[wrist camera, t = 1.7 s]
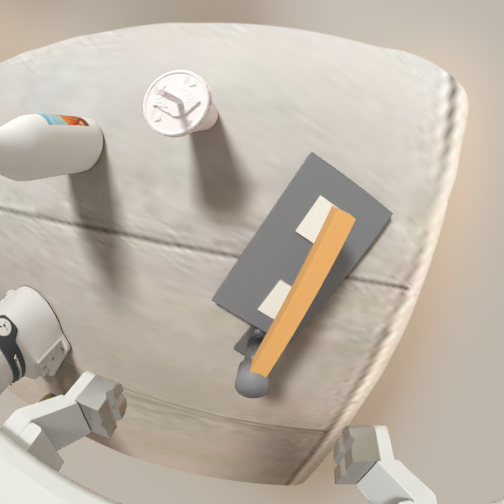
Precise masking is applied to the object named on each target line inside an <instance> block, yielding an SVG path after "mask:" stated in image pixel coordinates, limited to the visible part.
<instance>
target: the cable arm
mask: <svg viewBox="0 0 504 504" xmlns="http://www.w3.org/2000/svg"><path fill="white" fill-rule="evenodd" d="M355 220H356V219H355V218H354V217H353V216H352V215H350V214H349V213H347V212H345V211H343V210H341V209H339V208H337V207H335V206H332V207H331V209H330V211H329V213H328V215H327V217H326V220H325V222H324V224H323V226H322V228H321V230H320V232H319V234H318V236H317V238H316V240H315V242H314V244H313V246H312V248H311V250H310V252H309V254H308V256H307V258H306V260H305V262H304V264H303V266H302V268H301V270H300V272H299V274H298V276H297V278H296V279H295V281H294V283H293V285H292V287H291V289H290V291H289V293H288V295H287V297H286V299H285V300H284V302H283V304H282V306H281V308H280V310H279V312H278V313H277V315H276V317H275V319H274V321H273V323H272V325H271V326H270V328H269V330H268V332H267V334H266V335H265V337H264V339H263V341H262V343H261V344H260V346H259V348H258V350H257V351H256V353H255V355H254V357H253V358H249V359H246V360H244V361H242V362H241V363H240V365H239V368H238V373H237V377H236V382H235V389H236V390H237V392H238V393H239V394H241V395H242V396H244V397H248V398H259V397H262V396H264V395H265V394H266V393H267V392H268V390H269V379H270V371H271V369H272V368H273V366H274V365H275V363H276V361H277V360H278V358H279V357H280V355H281V353H282V352H283V350H284V349H285V347H286V345H287V344H288V342H289V340H290V339H291V337H292V336H293V334H294V332H295V331H296V329H297V327H298V325H299V324H300V322H301V320H302V319H303V317H304V315H305V314H306V312H307V310H308V308H309V307H310V305H311V303H312V301H313V300H314V298H315V296H316V294H317V293H318V291H319V289H320V287H321V285H322V284H323V282H324V280H325V278H326V276H327V274H328V273H329V271H330V269H331V267H332V265H333V263H334V261H335V259H336V258H337V256H338V254H339V252H340V250H341V248H342V246H343V244H344V242H345V240H346V238H347V236H348V234H349V232H350V230H351V228H352V226H353V224H354V222H355Z"/></svg>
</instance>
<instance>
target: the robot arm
mask: <svg viewBox="0 0 504 504" xmlns="http://www.w3.org/2000/svg"><path fill="white" fill-rule="evenodd" d="M69 350H70V344H69V343H68V341H67V339H66V338H65V336H64V335H63V333H62V331H61V328H60V325H59V322H58V320H57V318H56V316H55V314H54V312H53V311H52V309H51V307H50V306H49V305H48V303H47V302H46V301H45V300H44V298H43V297H42V296H41V295H40V294H38V293H37V292H36V291H35V290H33V289H31V288H29V287H20V288H18V289H17V290H11V289H10V290H9V291H7V293H6V298H5V299H3V300H2V301H1V302H0V394H1V393H2V392H3V391H4V389H6V387H7V386H8V385H9V384H10V385H12V384H11V383H15V382H16V381H18V380H20V379H21V378H22V377H23V376H25V377H29V378H31V379H37V378H38V377H39V376H40V375H42V376H43V377H46V376H47V375H50V376H54V375H55V374H56V372H57V370H58V369H59V367H60V365H61V363H62V362H63V360H64V358H65V357H66V355H67V353H68V352H69ZM122 392H123V387H122V384H120V383H117V382H114V381H112V380H109V379H107V378H104V377H102V376H100V375H97V374H95V373H92V372H90V371H86V372H84V373H83V374H82V375H81V377H80V378H79V379H78V380H77V381H76V382H75V384H74V385H73V386H72V387H71V388H70V390H69V391H68V392H67V393H66V394H65V396H64V395H59V396H56V397H53V398H50V399H47V400H44V401H41V402H38V403H35V404H32V405H29V406H26V407H23V408H20V409H17V410H16V411H15V412H14V413H13V414H12V415H11V416H10V418H9V419H8V420H7V421H6V422H5V423H4V425H3V426H2V427H1V428H0V504H120V503H118V502H115V501H113V500H111V499H109V498H107V497H104V496H102V495H100V494H98V493H96V492H94V491H92V490H90V489H88V488H86V487H84V486H82V485H80V484H79V483H77V482H75V481H73V480H71V479H69V478H68V477H66V476H64V475H63V474H61V473H59V472H58V471H59V469H60V468H61V466H62V465H63V463H64V462H63V459H62V458H61V457H60V455H59V454H58V452H57V451H58V450H60V449H61V448H63V447H65V446H67V445H69V444H71V443H73V442H75V441H77V440H78V439H80V438H82V437H84V436H86V435H88V434H89V433H91V431H92V432H94V433H97V434H99V435H101V436H104V437H106V438H109V439H110V438H111V436H112V434H113V433H114V431H115V429H116V428H117V425H116V421H118V420H121V419H122V418H123V416H124V414H125V411H126V407H127V402H126V398H125V397H124V396H123V394H122ZM342 434H343V436H341V437H339V438H338V440H337V441H336V444H335V447H334V461H335V462H336V463H337V464H338V465H337V467H336V468H335V470H334V474H335V484H357V487H358V488H359V489H360V491H361V492H362V493H363V495H364V496H365V497H366V499H367V500H368V502H369V503H370V504H437V501H436V496H435V494H434V493H433V492H432V491H431V490H430V489H429V488H428V487H427V486H425V485H424V484H423V483H422V482H421V481H420V480H419V479H418V478H417V477H416V476H415V475H414V474H413V473H412V472H410V471H409V470H408V469H407V468H406V467H405V466H404V465H403V464H402V463H401V462H400V461H399V460H395V459H394V455H393V450H392V446H391V442H390V437H389V433H388V429H387V427H386V426H384V425H381V426H371V425H366V426H346V427H344V429H343V431H342ZM489 504H504V497H502V498H500V499H498V500H496V501H494V502H492V503H489Z"/></svg>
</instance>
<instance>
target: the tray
mask: <svg viewBox="0 0 504 504" xmlns="http://www.w3.org/2000/svg"><path fill="white" fill-rule="evenodd" d="M332 206H335V207H337V208H339V209H341V210H343V211H345V212H347V213H349V214H350V215H352V216H353V217H354V218H355V219H356V220H355V222H354V224H353V226H352V228H351V230H350V232H349V234H348V236H347V238H346V240H345V242H344V244H343V246H342V248H341V250H340V252H339V254H338V256H337V258H336V259H335V261H334V263H333V265H332V267H331V269H330V271H329V273H328V274H327V276H326V278H325V280H324V282H323V284H322V285H321V287H320V289H319V291H318V293H317V294H316V296H315V298H314V300H313V301H312V303H311V305H310V307H309V308H308V310H307V312H306V314H305V315H304V317H303V319H302V320H301V322H300V324H299V325H298V327H297V329H296V331H295V332H294V334H293V336H292V337H291V339H290V340H289V342H288V344H289V343H290V342H291V341H292V340H293V338H294V337H295V336H296V335H297V334H298V333H299V332H300V331H301V329H302V328H303V327H304V326H305V325H306V324H307V323H308V321H309V320H310V319H311V318H312V317H313V316H314V315H315V313H316V312H317V311H318V310H319V309H320V307H321V306H322V305H323V304H324V303H325V302H326V300H327V299H328V298H329V297H330V295H331V294H332V293H333V292H334V291H335V289H336V288H337V287H338V286H339V284H340V283H341V282H342V281H343V279H344V278H345V277H346V276H347V274H348V273H349V272H350V271H351V269H352V268H353V267H354V265H355V264H356V263H357V262H358V260H359V259H360V258H361V256H362V255H363V254H364V252H365V251H366V250H367V248H368V247H369V246H370V244H371V243H372V242H373V240H374V239H375V238H376V236H377V235H378V234H379V232H380V231H381V229H382V228H383V227H384V225H385V224H386V222H387V221H388V220H389V218H390V217H391V215H392V214H393V213H392V212H390V211H389V210H388V209H387V208H386V207H384V206H383V205H382V204H381V203H380V202H378V201H377V200H376V199H375V198H373V197H372V196H371V195H370V194H368V193H367V192H366V191H365V190H363V189H362V188H361V187H359V186H358V185H357V184H355V183H354V182H353V181H352V180H350V179H349V178H348V177H346V176H345V175H344V174H342V173H341V172H339V171H338V170H337V169H335V168H334V167H333V166H331V165H330V164H328V163H327V162H326V161H324V160H323V159H321V158H320V157H318V156H317V155H316V154H314V153H313V152H311V153H310V154H309V156H308V157H307V159H306V160H305V162H304V163H303V164H302V166H301V167H300V169H299V170H298V172H297V173H296V175H295V176H294V178H293V179H292V181H291V182H290V184H289V185H288V187H287V188H286V189H285V191H284V192H283V194H282V195H281V197H280V198H279V200H278V201H277V203H276V204H275V206H274V207H273V209H272V210H271V212H270V213H269V215H268V216H267V218H266V219H265V221H264V222H263V223H262V225H261V226H260V228H259V229H258V231H257V232H256V234H255V235H254V237H253V238H252V240H251V241H250V243H249V244H248V246H247V247H246V249H245V250H244V252H243V253H242V255H241V256H240V258H239V259H238V261H237V262H236V264H235V265H234V267H233V268H232V270H231V271H230V273H229V274H228V276H227V277H226V279H225V280H224V282H223V283H222V285H221V286H220V288H219V289H218V291H217V292H216V294H215V295H214V297H213V299H212V301H214V302H215V303H217V304H219V305H220V306H222V307H223V308H225V309H227V310H228V311H230V312H232V313H233V314H235V315H237V316H238V317H240V318H242V319H243V320H245V321H247V322H248V323H250V324H252V325H254V326H255V327H257V328H259V329H260V330H262V331H264V332H266V333H267V332H268V330H269V328H270V326H271V325H272V323H273V321H274V319H275V317H276V315H277V313H278V312H279V310H280V308H281V306H282V304H283V302H284V300H285V299H286V297H287V295H288V293H289V291H290V289H291V287H292V285H293V283H294V281H295V279H296V278H297V276H298V274H299V272H300V270H301V268H302V266H303V264H304V262H305V260H306V258H307V256H308V254H309V252H310V250H311V248H312V246H313V244H314V242H315V240H316V238H317V236H318V234H319V232H320V230H321V228H322V226H323V224H324V222H325V220H326V217H327V215H328V213H329V211H330V209H331V207H332ZM288 344H287V345H288Z"/></svg>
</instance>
